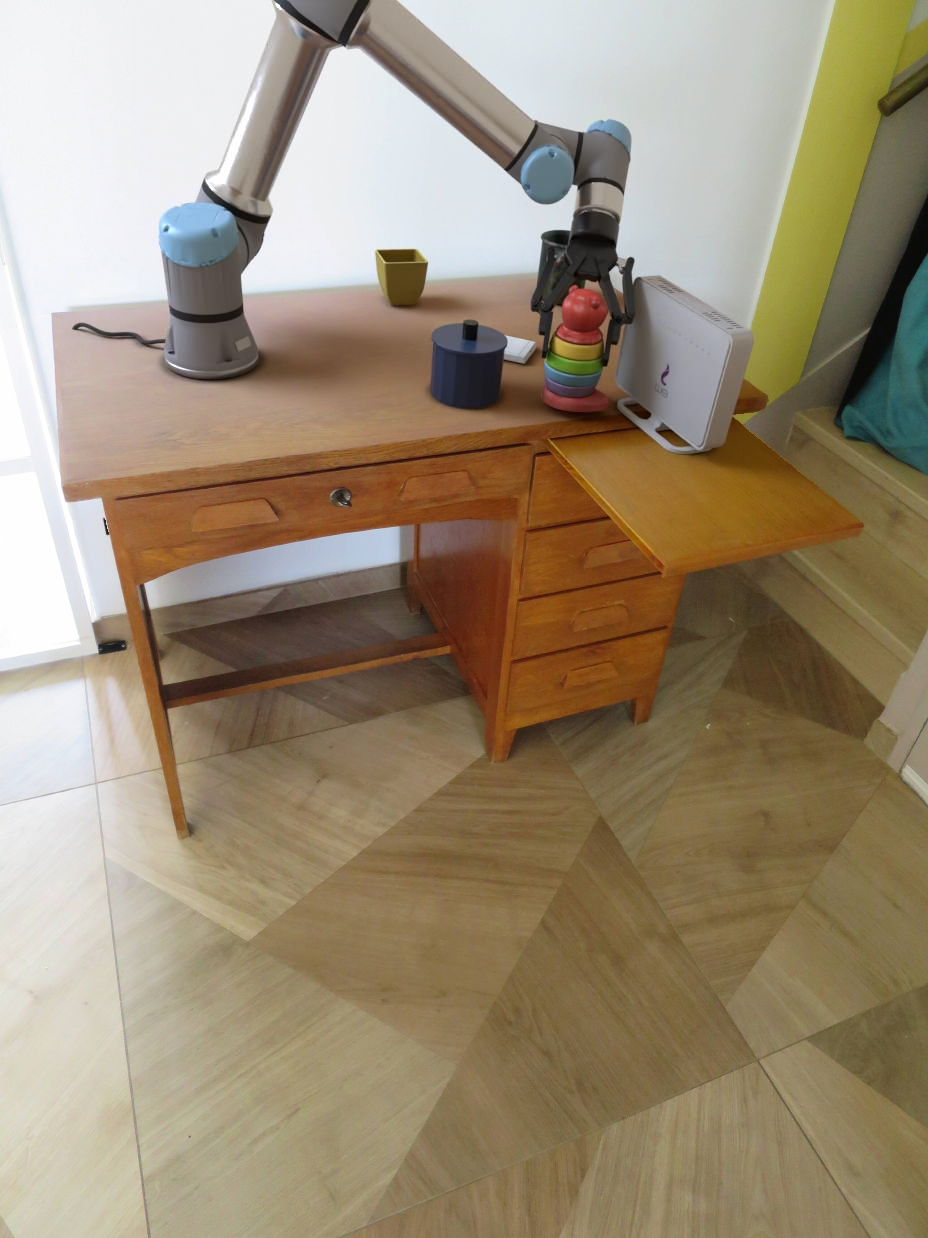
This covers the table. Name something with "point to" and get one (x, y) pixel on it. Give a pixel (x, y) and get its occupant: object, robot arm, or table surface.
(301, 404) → the table surface
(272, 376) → the table surface
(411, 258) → the flower pot
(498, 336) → the pot lid
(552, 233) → the mug
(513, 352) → the hard drive
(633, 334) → the network device
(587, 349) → the stacking bear
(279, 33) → the robot arm
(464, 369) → the pot
